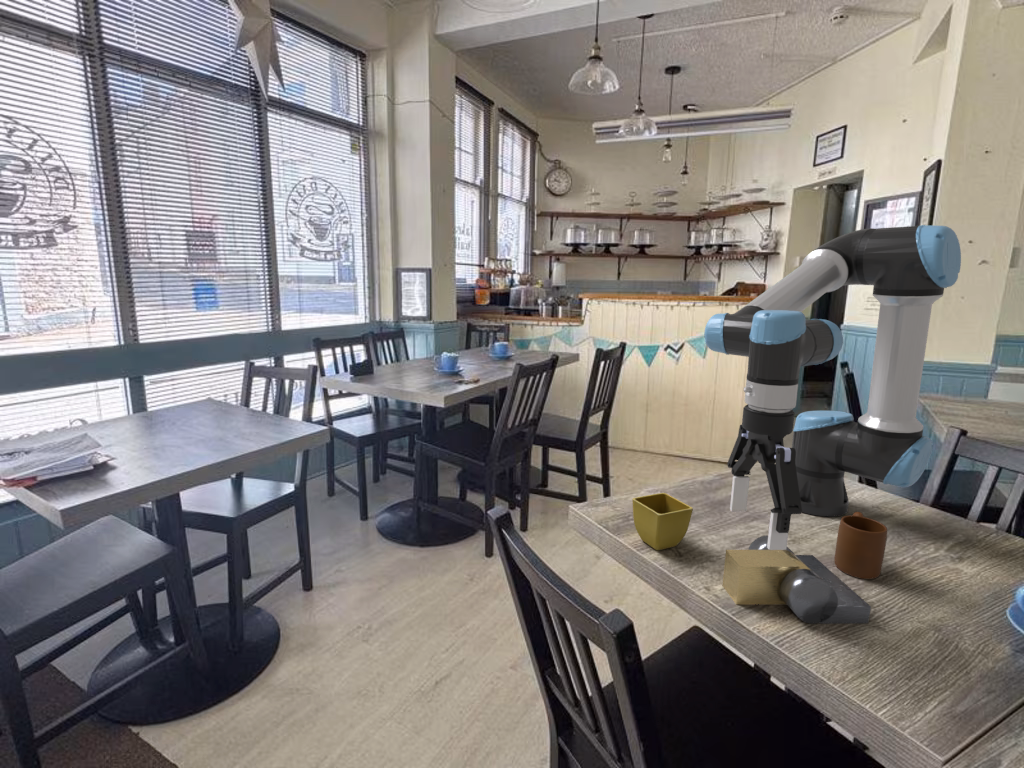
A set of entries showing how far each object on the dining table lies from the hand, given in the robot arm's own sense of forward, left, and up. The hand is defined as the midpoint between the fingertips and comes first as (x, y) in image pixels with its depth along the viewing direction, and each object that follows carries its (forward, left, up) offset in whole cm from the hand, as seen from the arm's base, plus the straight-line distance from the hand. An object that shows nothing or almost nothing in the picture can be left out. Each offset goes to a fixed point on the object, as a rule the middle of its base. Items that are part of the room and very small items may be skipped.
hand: (755, 528), depth 91 cm
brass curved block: (-3, 0, -12) cm, 13 cm away
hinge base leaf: (-9, 0, -12) cm, 16 cm away
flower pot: (+10, -18, -13) cm, 24 cm away
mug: (-26, -10, -13) cm, 30 cm away
